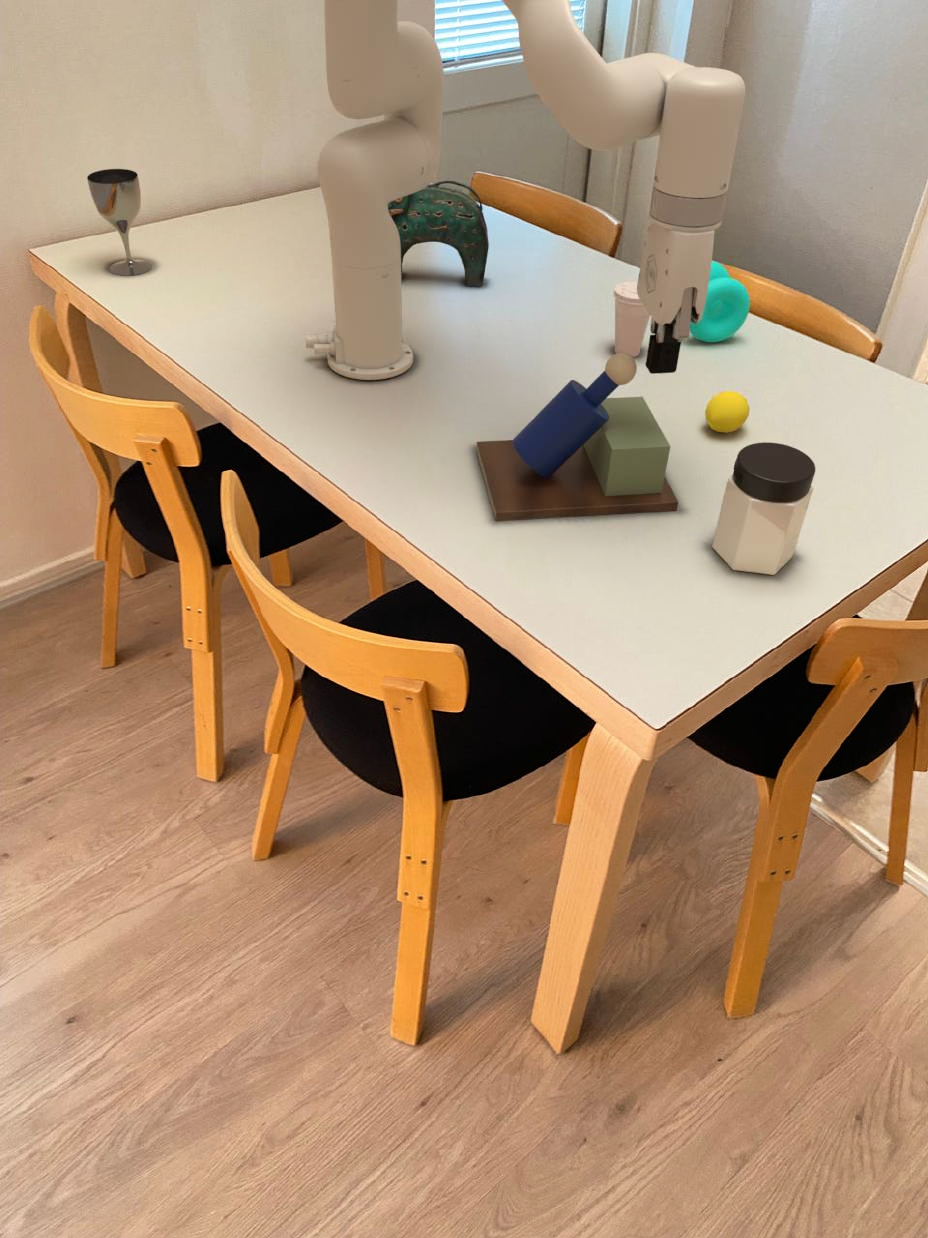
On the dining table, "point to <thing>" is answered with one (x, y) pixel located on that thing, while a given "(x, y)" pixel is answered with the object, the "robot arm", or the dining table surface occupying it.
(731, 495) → the jar
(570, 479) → the board
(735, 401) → the lemon
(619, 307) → the smoothie
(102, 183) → the wine glass
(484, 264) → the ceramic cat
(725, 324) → the donuts
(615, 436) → the block
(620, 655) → the dining table surface
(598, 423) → the bottle
